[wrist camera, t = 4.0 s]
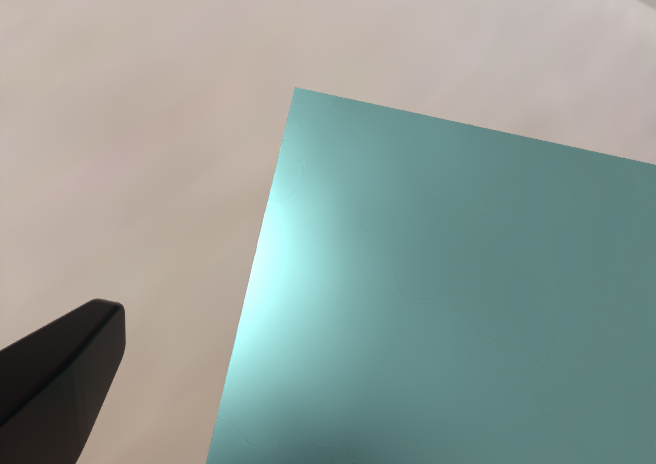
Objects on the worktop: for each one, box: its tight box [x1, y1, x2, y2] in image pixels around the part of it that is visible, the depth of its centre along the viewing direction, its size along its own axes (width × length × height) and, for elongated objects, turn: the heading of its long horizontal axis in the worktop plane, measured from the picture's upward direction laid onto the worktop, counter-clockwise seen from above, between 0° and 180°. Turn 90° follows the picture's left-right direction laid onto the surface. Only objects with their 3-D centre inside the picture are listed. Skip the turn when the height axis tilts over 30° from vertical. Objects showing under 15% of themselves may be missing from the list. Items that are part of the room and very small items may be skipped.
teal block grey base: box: [206, 87, 656, 464], centre depth 11 cm, size 5×5×11 cm
